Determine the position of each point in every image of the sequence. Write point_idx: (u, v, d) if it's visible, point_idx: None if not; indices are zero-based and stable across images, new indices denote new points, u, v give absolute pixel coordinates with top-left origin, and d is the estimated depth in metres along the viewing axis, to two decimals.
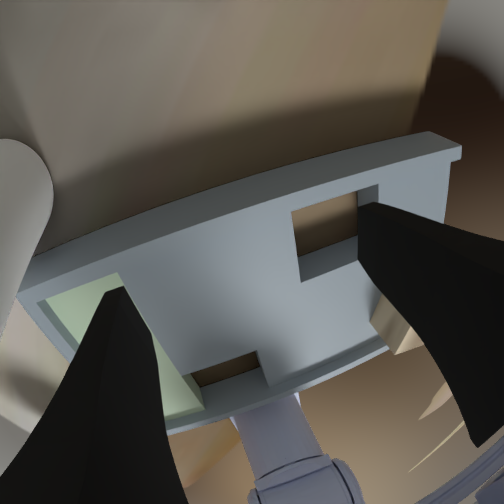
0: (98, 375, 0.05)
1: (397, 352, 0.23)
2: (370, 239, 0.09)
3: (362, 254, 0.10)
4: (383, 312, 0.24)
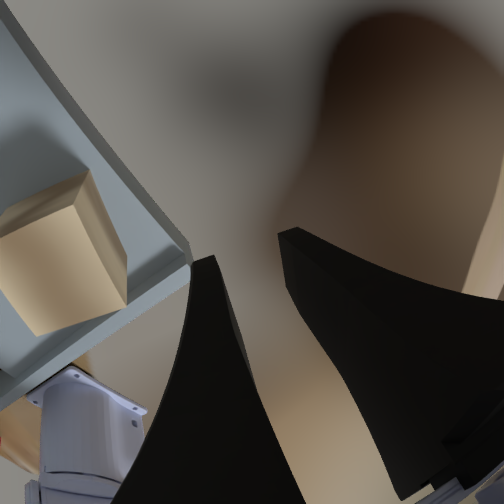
0: (230, 334, 0.06)
1: (37, 332, 0.12)
2: (290, 269, 0.09)
3: (288, 282, 0.10)
4: None
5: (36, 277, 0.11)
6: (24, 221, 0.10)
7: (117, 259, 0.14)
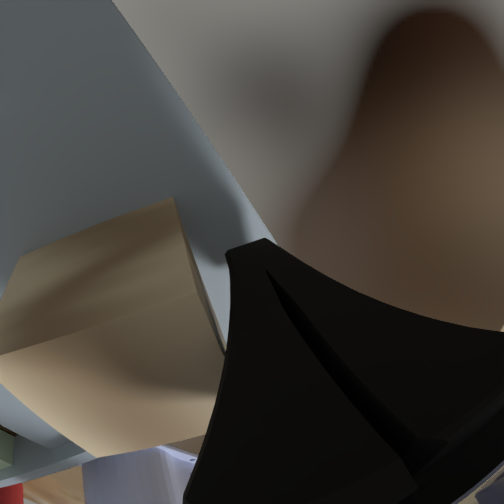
0: (282, 315, 0.06)
1: (98, 454, 0.07)
2: None
3: None
4: None
5: (104, 401, 0.06)
6: (72, 312, 0.05)
7: (223, 342, 0.09)
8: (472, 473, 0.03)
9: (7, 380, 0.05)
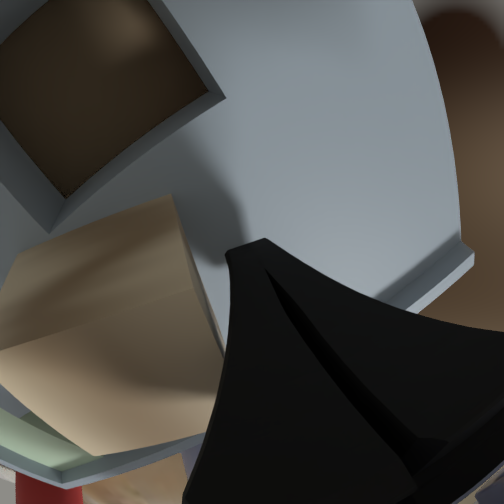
0: (282, 315, 0.06)
1: (96, 453, 0.07)
2: None
3: None
4: None
5: (101, 399, 0.06)
6: (68, 308, 0.05)
7: (222, 341, 0.09)
8: (472, 473, 0.03)
9: (3, 377, 0.05)
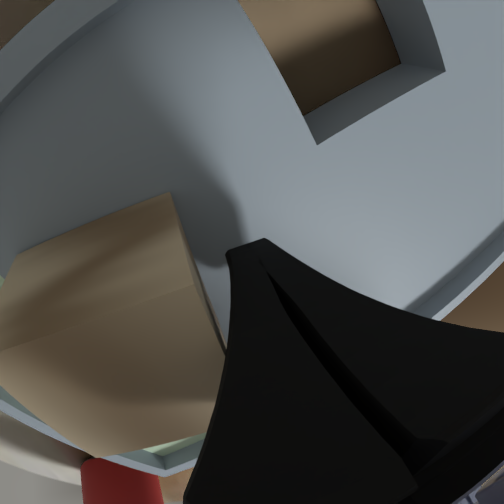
0: (283, 315, 0.06)
1: (97, 454, 0.07)
2: None
3: None
4: None
5: (101, 399, 0.06)
6: (67, 307, 0.05)
7: (223, 339, 0.09)
8: (471, 473, 0.03)
9: (3, 378, 0.05)
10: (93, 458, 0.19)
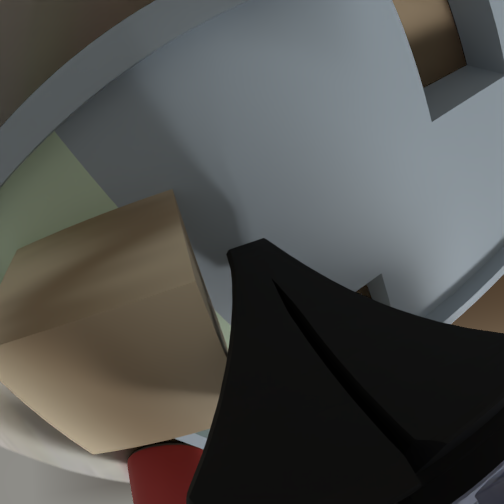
0: (285, 314, 0.06)
1: (94, 451, 0.07)
2: None
3: None
4: None
5: (100, 395, 0.06)
6: (68, 303, 0.05)
7: (222, 337, 0.09)
8: (470, 474, 0.03)
9: (2, 372, 0.05)
10: (145, 448, 0.19)
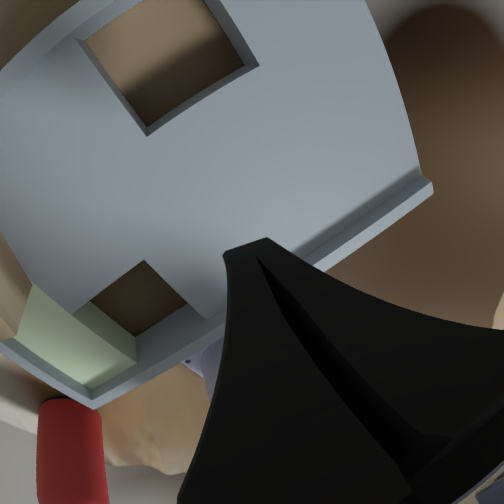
0: (279, 317, 0.06)
1: None
2: None
3: None
4: None
5: None
6: None
7: (13, 290, 0.13)
8: (474, 471, 0.03)
9: None
10: (48, 400, 0.23)
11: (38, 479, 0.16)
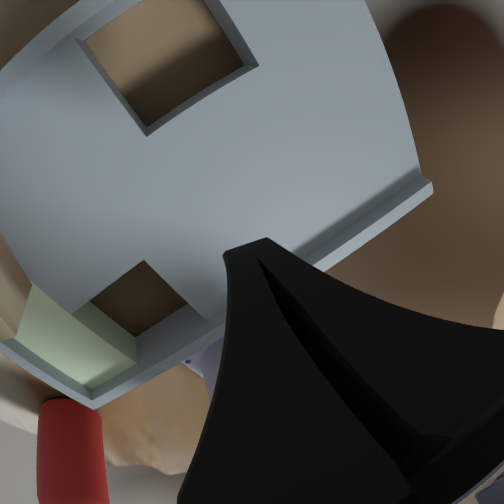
0: (279, 317, 0.06)
1: None
2: None
3: None
4: None
5: None
6: None
7: (13, 291, 0.13)
8: (475, 471, 0.03)
9: None
10: (48, 400, 0.23)
11: (38, 480, 0.16)
